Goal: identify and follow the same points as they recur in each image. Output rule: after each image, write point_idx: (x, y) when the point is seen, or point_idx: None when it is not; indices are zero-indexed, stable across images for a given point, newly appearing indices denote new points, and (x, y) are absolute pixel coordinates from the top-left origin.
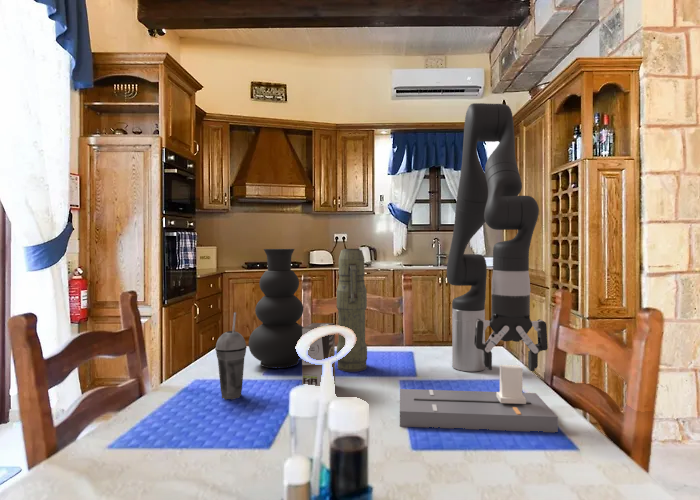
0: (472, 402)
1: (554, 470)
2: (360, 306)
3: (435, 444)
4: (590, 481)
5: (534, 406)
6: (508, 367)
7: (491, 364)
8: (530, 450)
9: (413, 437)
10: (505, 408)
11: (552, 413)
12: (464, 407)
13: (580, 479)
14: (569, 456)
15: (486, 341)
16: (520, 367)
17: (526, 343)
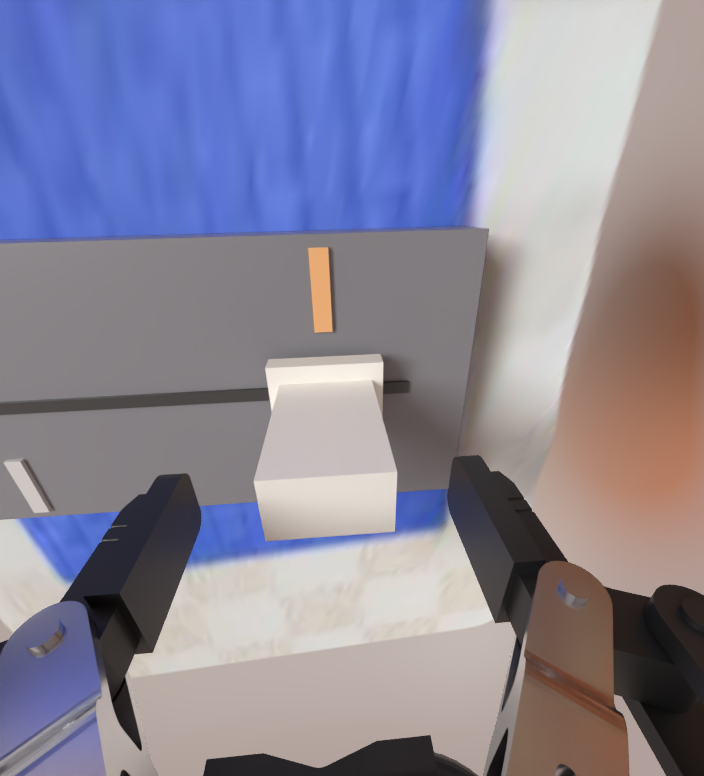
0: (165, 407)
1: (358, 599)
2: None
3: None
4: (406, 615)
5: (411, 414)
6: (308, 527)
7: (186, 556)
8: (334, 547)
9: (42, 536)
10: None
11: (448, 465)
12: (140, 462)
13: (392, 613)
14: (409, 555)
15: (2, 728)
16: (388, 517)
17: (483, 773)
